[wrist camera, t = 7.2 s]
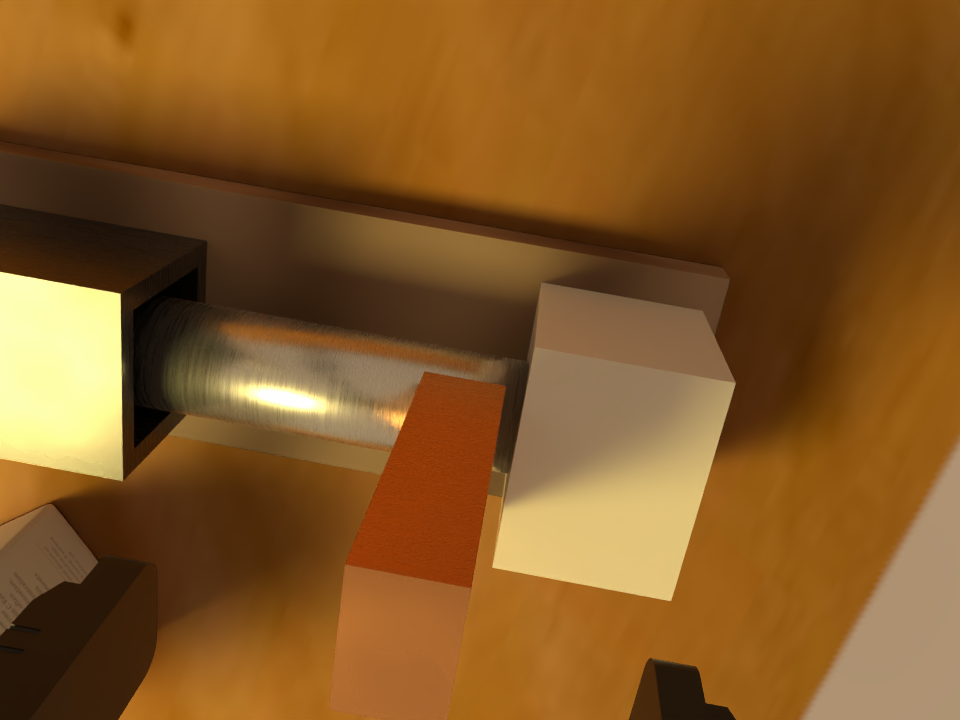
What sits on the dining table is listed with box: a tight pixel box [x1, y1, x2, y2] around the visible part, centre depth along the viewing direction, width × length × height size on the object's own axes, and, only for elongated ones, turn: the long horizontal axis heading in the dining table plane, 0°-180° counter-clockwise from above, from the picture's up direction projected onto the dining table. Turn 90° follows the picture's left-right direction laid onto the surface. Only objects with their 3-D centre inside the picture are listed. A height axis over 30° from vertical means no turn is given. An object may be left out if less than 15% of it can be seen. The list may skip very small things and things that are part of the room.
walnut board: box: [0, 141, 730, 497], centre depth 25 cm, size 24×8×1 cm, turn 81°
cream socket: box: [492, 282, 736, 601], centre depth 22 cm, size 4×6×5 cm
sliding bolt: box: [133, 295, 530, 720], centre depth 19 cm, size 14×3×11 cm, turn 81°
